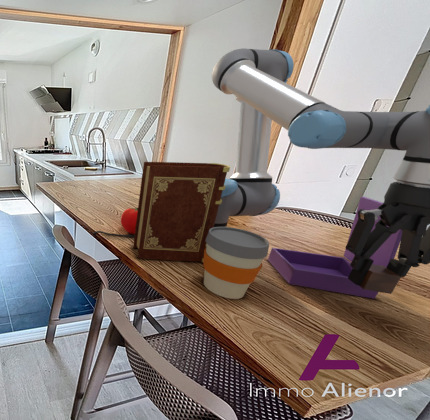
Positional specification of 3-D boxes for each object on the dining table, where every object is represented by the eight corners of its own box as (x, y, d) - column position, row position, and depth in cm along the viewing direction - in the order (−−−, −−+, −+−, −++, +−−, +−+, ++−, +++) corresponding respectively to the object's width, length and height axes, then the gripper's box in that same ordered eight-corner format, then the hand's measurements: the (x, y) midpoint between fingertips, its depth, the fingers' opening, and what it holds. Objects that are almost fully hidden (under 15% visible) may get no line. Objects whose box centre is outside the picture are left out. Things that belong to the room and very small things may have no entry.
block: (363, 289, 54) (372, 272, 52) (348, 278, 58) (356, 261, 56) (391, 294, 52) (401, 276, 51) (374, 282, 56) (383, 265, 55)
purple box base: (288, 283, 66) (294, 269, 65) (267, 260, 78) (272, 247, 76) (374, 298, 61) (383, 283, 59) (338, 271, 72) (344, 257, 71)
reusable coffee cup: (235, 310, 56) (253, 253, 51) (186, 281, 67) (196, 231, 62) (263, 294, 62) (281, 241, 57) (213, 269, 72) (225, 223, 67)
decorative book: (199, 250, 83) (219, 163, 74) (211, 263, 76) (235, 167, 66) (132, 247, 85) (143, 161, 76) (137, 259, 78) (150, 165, 68)
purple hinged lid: (406, 211, 54) (470, 212, 51) (360, 196, 66) (410, 196, 62) (381, 281, 59) (438, 286, 56) (343, 256, 71) (387, 259, 68)
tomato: (150, 240, 91) (154, 214, 87) (118, 236, 94) (121, 211, 91) (148, 228, 102) (152, 205, 98) (120, 224, 105) (123, 202, 101)
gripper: (378, 184, 47) (329, 285, 55) (519, 194, 41) (442, 305, 49) (349, 176, 53) (310, 267, 61) (468, 184, 48) (407, 283, 56)
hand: (369, 284), depth 55 cm, fingers closed on block, 4 cm apart
